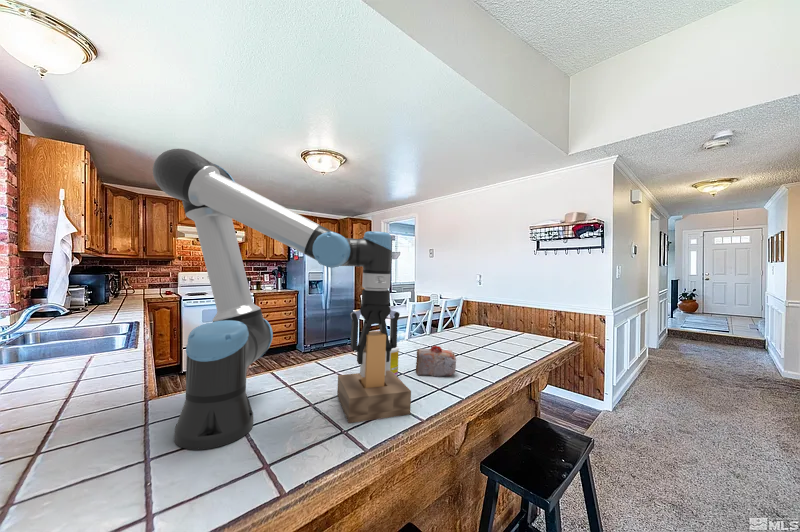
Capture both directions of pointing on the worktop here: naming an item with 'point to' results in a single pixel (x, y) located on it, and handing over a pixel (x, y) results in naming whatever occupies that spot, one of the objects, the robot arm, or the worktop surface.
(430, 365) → the food item
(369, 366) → the peg
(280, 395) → the worktop surface
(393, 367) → the supplement bottle
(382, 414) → the socket block
